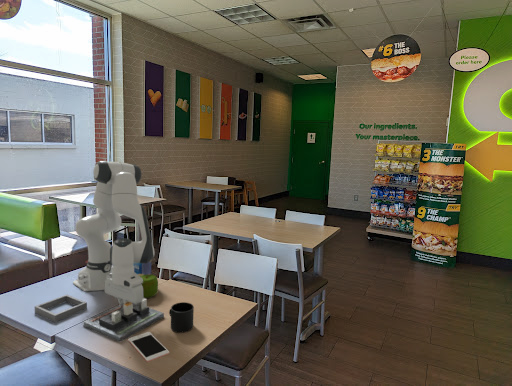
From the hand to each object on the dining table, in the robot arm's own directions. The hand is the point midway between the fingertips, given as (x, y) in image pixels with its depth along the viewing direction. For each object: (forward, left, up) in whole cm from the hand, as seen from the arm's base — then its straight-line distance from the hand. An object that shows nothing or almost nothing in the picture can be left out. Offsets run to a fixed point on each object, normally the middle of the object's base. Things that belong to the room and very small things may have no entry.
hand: (123, 307), depth 151 cm
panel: (+1, 0, -6) cm, 6 cm away
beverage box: (-26, +33, -6) cm, 43 cm away
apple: (-11, +24, -6) cm, 27 cm away
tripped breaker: (+3, 0, -2) cm, 3 cm away
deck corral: (-30, -9, -6) cm, 32 cm away
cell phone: (+23, -8, -7) cm, 25 cm away
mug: (+23, +10, -6) cm, 26 cm away
